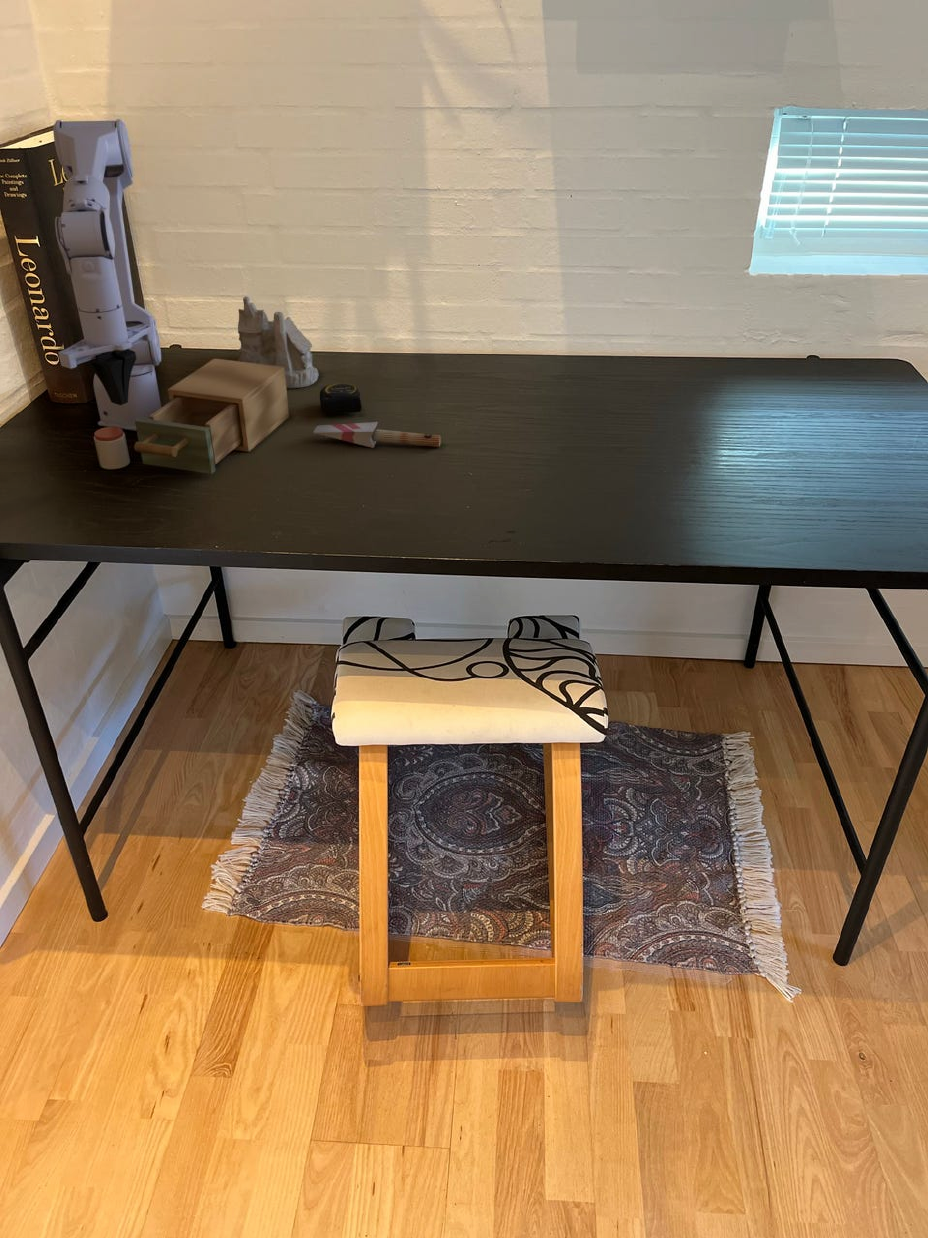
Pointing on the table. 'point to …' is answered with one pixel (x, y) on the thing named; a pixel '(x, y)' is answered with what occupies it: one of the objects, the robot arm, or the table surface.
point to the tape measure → (340, 399)
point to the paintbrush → (374, 435)
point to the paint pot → (111, 448)
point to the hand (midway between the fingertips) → (119, 402)
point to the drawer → (189, 434)
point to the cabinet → (241, 394)
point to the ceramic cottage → (275, 345)
